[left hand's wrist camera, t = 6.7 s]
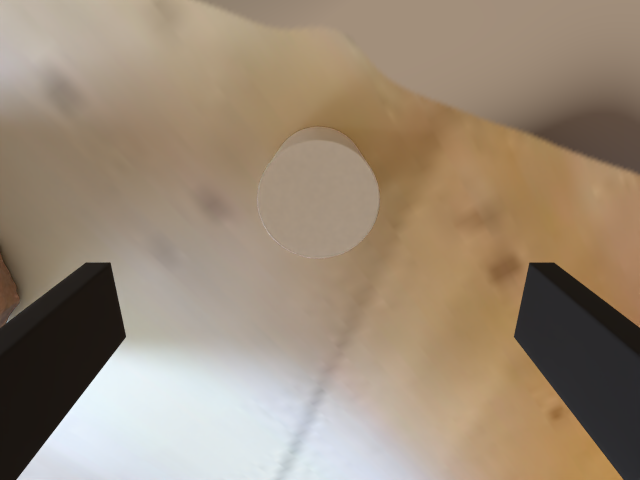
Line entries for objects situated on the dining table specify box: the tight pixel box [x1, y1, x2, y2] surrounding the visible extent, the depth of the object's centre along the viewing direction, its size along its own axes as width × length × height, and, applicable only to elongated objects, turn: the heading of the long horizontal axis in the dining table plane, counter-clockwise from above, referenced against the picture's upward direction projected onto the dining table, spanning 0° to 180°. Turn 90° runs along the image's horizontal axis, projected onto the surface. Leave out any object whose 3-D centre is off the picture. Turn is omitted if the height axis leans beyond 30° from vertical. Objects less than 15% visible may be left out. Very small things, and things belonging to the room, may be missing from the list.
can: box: [257, 126, 380, 259], centre depth 29 cm, size 8×8×9 cm
